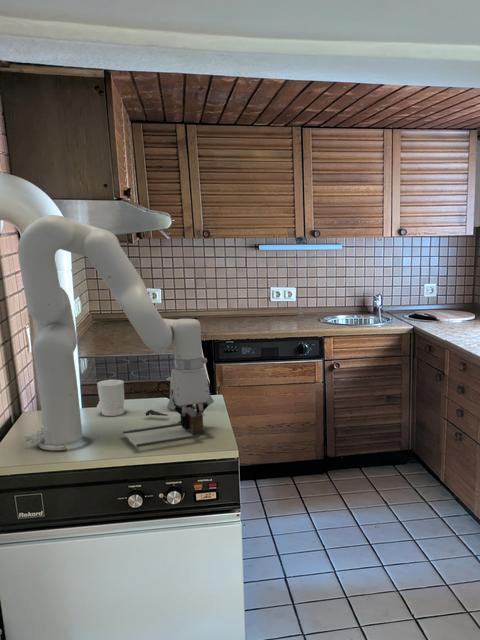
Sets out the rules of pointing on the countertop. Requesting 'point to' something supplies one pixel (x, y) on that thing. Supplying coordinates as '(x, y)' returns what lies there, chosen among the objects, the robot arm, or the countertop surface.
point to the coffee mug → (169, 391)
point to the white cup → (111, 397)
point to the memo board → (158, 435)
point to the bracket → (156, 413)
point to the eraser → (194, 422)
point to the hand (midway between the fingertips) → (192, 426)
